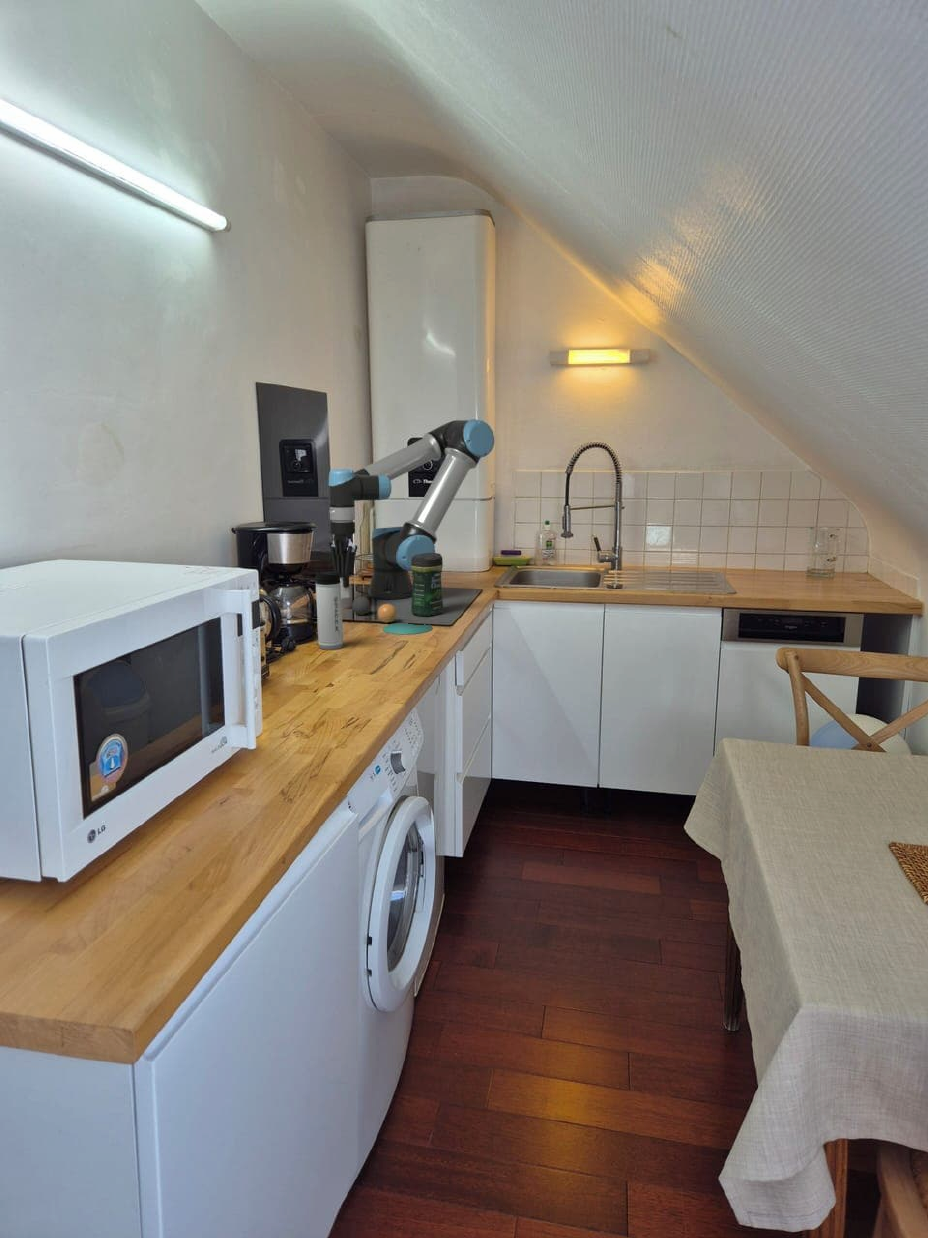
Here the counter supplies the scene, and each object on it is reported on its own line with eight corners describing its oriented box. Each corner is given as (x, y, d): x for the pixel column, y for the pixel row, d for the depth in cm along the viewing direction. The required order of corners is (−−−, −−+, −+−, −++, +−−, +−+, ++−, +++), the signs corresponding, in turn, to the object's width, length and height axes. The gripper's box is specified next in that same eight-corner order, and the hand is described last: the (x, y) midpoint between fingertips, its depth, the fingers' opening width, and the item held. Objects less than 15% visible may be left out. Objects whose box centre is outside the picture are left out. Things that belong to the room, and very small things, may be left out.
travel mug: (318, 644, 214) (314, 568, 210) (344, 643, 215) (341, 567, 210) (316, 650, 208) (312, 572, 204) (342, 649, 208) (339, 571, 204)
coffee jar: (427, 618, 243) (426, 556, 239) (407, 615, 248) (405, 553, 244) (448, 612, 251) (447, 552, 247) (428, 609, 256) (427, 550, 252)
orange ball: (388, 619, 242) (388, 601, 241) (400, 622, 238) (400, 603, 237) (374, 622, 238) (373, 603, 237) (386, 625, 234) (385, 606, 233)
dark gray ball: (363, 612, 253) (362, 594, 251) (374, 614, 249) (373, 596, 248) (348, 614, 249) (348, 596, 248) (359, 617, 245) (359, 599, 244)
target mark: (410, 620, 240) (410, 620, 240) (442, 628, 231) (442, 627, 230) (372, 628, 231) (372, 627, 231) (404, 637, 221) (404, 636, 221)
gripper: (320, 519, 252) (323, 595, 257) (342, 523, 242) (344, 602, 247) (342, 518, 257) (343, 593, 262) (364, 521, 247) (366, 599, 252)
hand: (344, 597), depth 255 cm, fingers closed
